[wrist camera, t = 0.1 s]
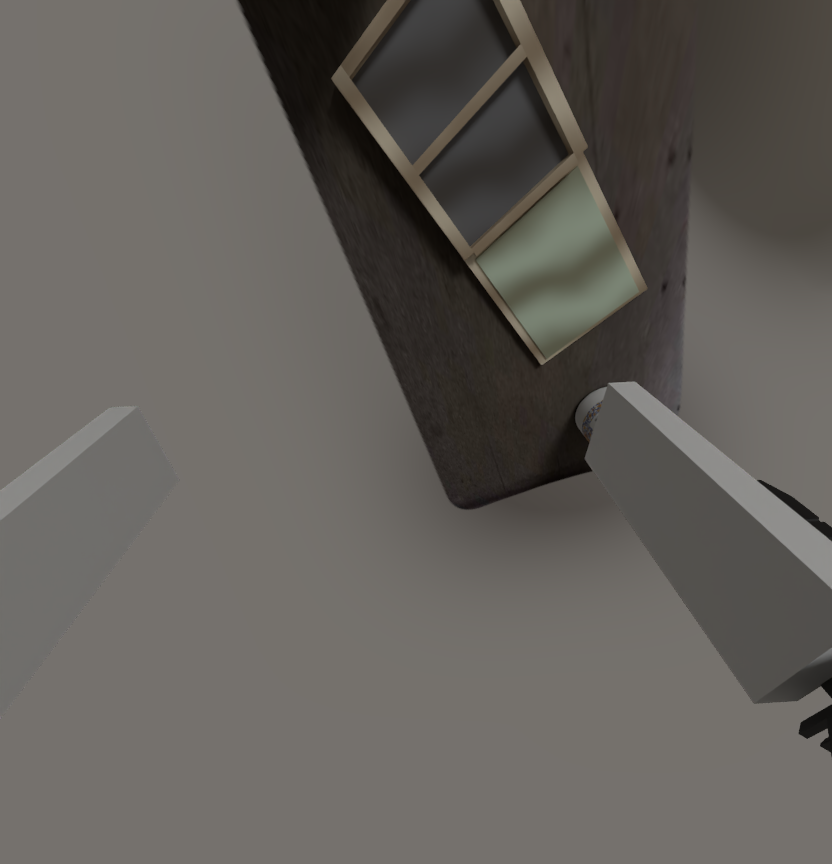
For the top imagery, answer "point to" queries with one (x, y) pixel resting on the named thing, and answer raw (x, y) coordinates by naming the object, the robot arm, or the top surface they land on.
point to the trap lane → (494, 160)
